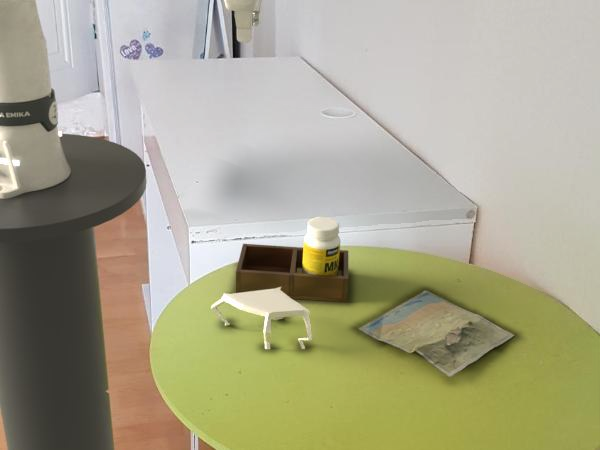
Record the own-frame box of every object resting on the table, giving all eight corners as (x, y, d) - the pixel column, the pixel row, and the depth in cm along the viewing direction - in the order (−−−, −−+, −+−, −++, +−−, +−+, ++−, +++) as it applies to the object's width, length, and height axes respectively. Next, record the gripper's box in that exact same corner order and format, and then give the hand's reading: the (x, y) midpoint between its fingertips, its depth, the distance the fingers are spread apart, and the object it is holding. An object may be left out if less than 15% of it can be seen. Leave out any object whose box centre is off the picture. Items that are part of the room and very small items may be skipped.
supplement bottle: (326, 293, 96) (330, 235, 92) (294, 282, 98) (297, 225, 94) (343, 277, 100) (348, 221, 96) (312, 267, 102) (316, 211, 98)
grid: (235, 294, 96) (235, 271, 95) (242, 265, 103) (243, 243, 101) (346, 302, 96) (348, 279, 94) (346, 272, 102) (348, 250, 101)
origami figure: (310, 314, 93) (312, 280, 91) (311, 355, 86) (313, 319, 83) (213, 311, 93) (213, 276, 91) (206, 352, 85) (205, 316, 83)
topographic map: (515, 336, 91) (517, 324, 90) (449, 380, 82) (451, 368, 81) (425, 293, 99) (427, 282, 99) (357, 329, 91) (358, 317, 90)
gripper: (235, -89, 102) (235, 14, 109) (211, -73, 84) (213, 50, 91) (281, -86, 102) (278, 17, 109) (267, -70, 84) (265, 53, 90)
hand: (248, 32), depth 99 cm, fingers open, 8 cm apart
